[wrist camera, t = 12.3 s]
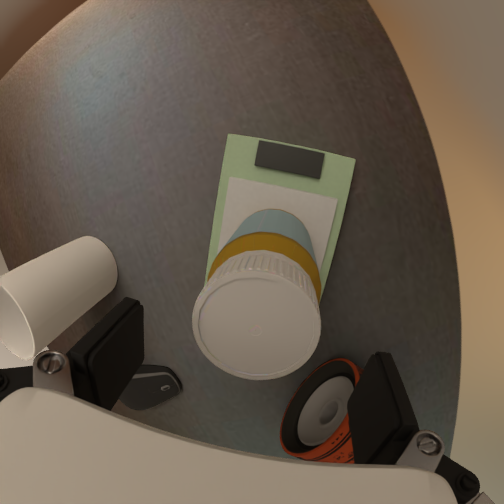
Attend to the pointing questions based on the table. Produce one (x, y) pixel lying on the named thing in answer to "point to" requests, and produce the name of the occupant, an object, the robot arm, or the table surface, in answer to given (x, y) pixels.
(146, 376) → the computer mouse
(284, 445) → the oil filter
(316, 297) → the bottle
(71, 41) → the table surface
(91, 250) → the cup
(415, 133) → the table surface
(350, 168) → the scale
